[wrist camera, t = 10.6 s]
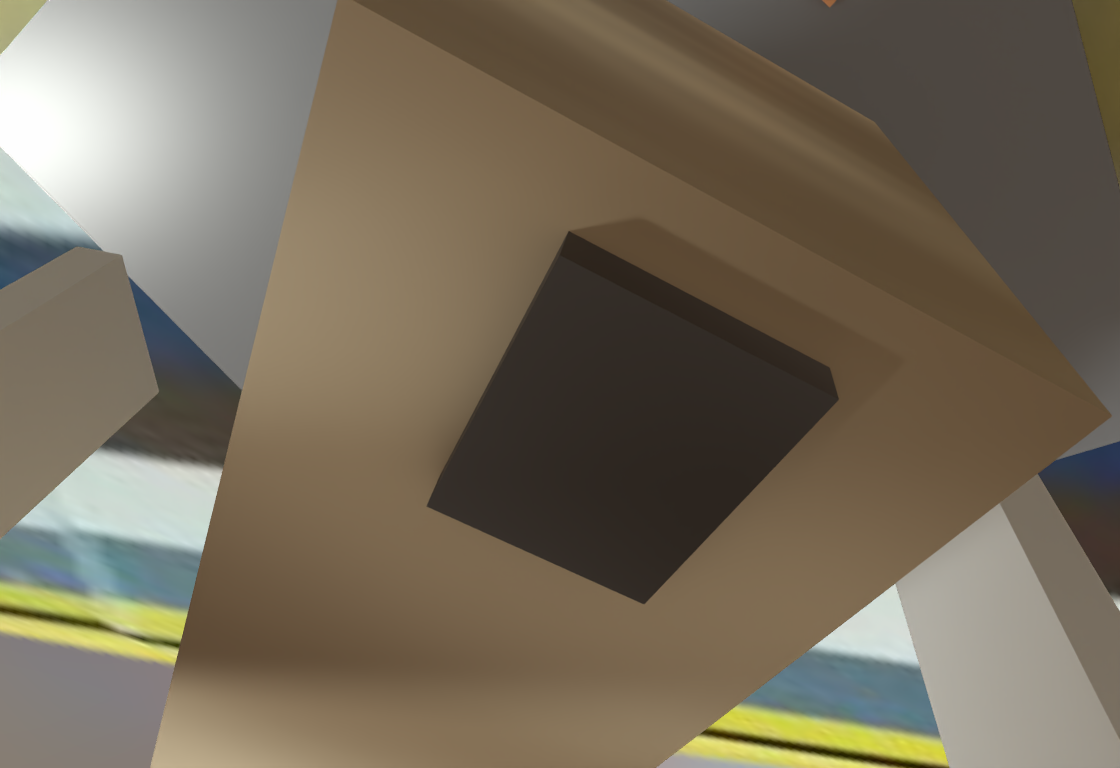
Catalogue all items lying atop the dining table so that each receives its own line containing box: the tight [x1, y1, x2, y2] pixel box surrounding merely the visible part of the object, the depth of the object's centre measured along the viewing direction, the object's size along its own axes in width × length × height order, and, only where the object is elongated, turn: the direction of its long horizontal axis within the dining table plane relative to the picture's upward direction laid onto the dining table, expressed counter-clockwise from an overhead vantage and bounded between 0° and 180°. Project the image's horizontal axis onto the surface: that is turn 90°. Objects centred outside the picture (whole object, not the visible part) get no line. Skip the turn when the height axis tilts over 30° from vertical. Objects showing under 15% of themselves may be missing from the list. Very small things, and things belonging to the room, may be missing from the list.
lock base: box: [0, 0, 1120, 460], centre depth 14 cm, size 20×20×6 cm
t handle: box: [150, 0, 1112, 768], centre depth 9 cm, size 12×4×6 cm, turn 154°
